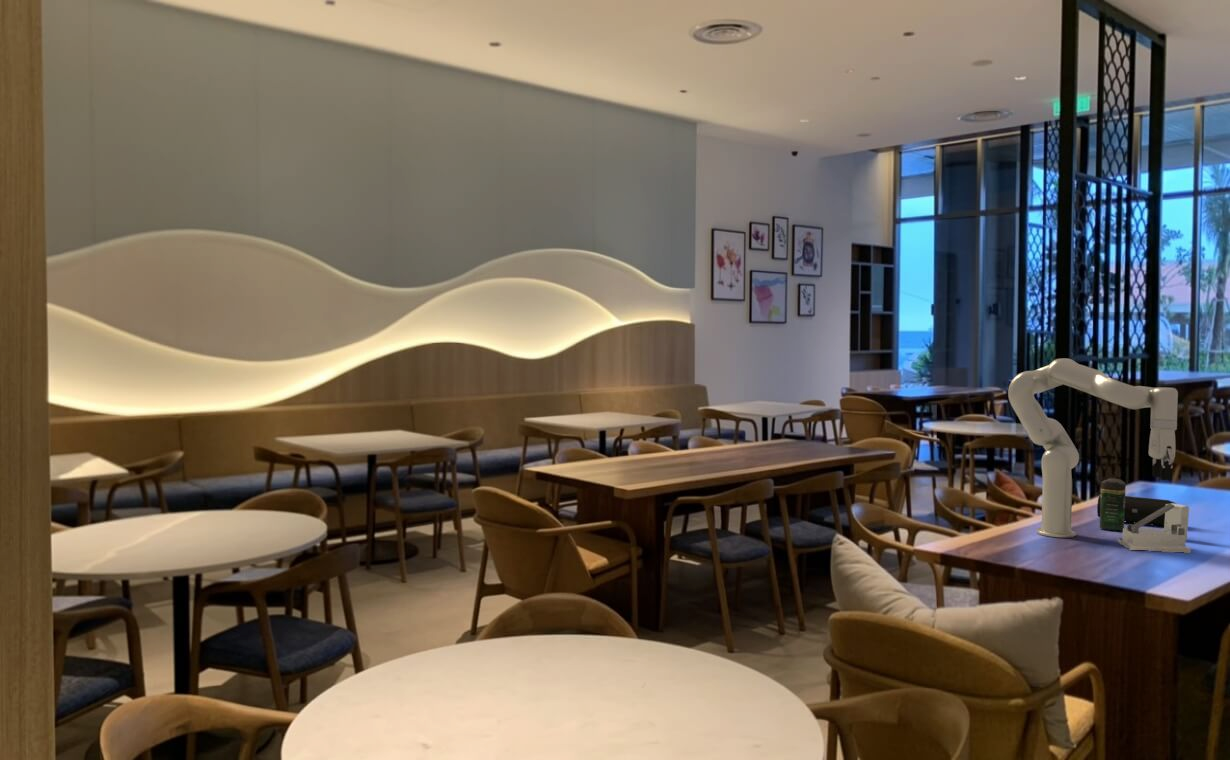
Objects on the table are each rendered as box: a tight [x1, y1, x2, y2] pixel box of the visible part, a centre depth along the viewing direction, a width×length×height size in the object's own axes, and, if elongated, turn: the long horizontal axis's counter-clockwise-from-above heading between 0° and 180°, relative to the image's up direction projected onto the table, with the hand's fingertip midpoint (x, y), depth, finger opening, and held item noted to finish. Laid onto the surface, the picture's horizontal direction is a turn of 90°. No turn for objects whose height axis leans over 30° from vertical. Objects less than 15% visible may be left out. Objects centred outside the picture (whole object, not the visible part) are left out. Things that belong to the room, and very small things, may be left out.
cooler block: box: [1117, 523, 1192, 554], centre depth 303 cm, size 12×18×8 cm, turn 79°
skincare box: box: [1163, 502, 1190, 541], centre depth 316 cm, size 6×4×12 cm
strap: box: [1129, 503, 1175, 530], centre depth 303 cm, size 3×15×1 cm
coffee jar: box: [1099, 477, 1127, 531], centre depth 333 cm, size 10×8×19 cm
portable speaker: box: [1096, 495, 1177, 527], centre depth 344 cm, size 26×10×10 cm, turn 53°
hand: (1161, 478), depth 302 cm, fingers open, 5 cm apart
